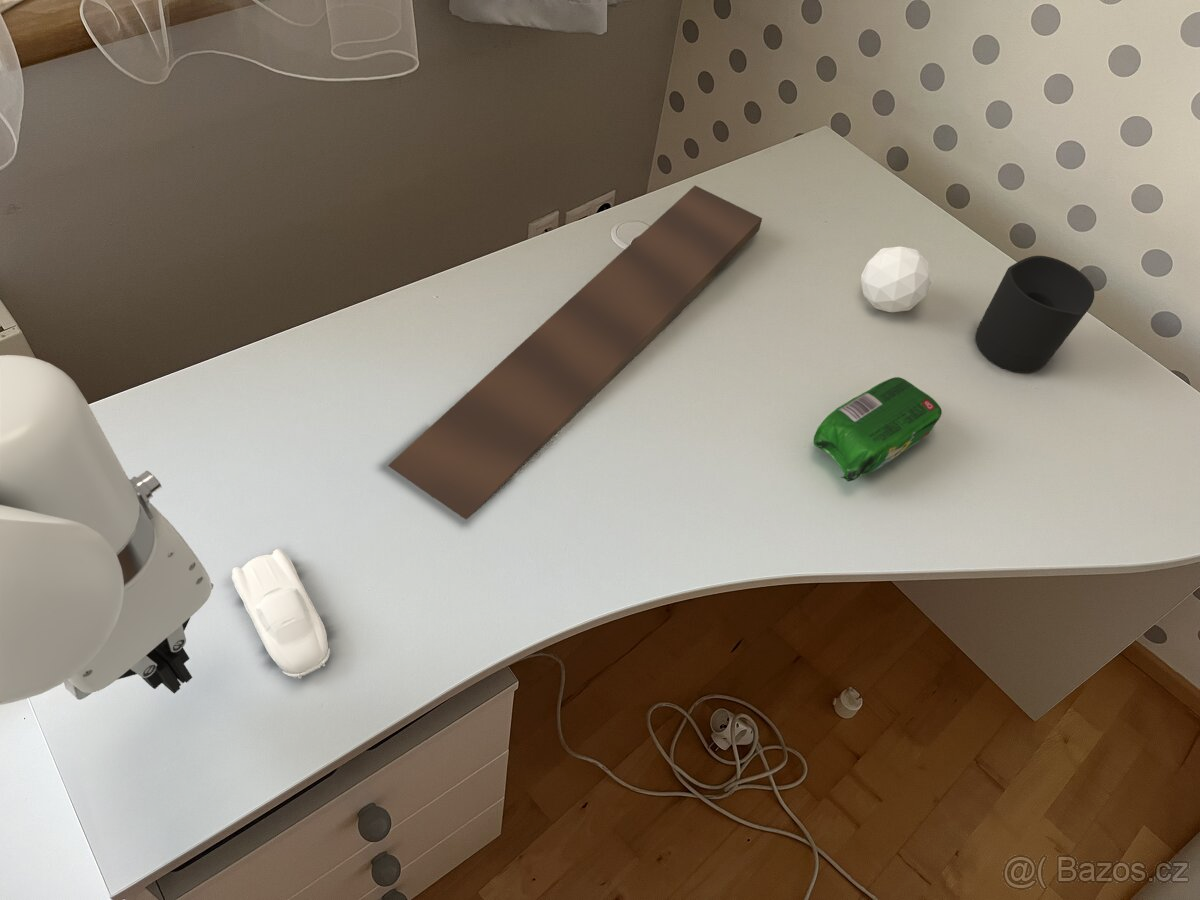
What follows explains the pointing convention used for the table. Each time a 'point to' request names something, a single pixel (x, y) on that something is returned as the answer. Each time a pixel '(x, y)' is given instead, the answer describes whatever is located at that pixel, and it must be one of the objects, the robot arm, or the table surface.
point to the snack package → (877, 426)
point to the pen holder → (1033, 313)
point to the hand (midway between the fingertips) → (169, 674)
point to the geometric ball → (896, 279)
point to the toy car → (282, 613)
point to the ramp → (575, 353)
